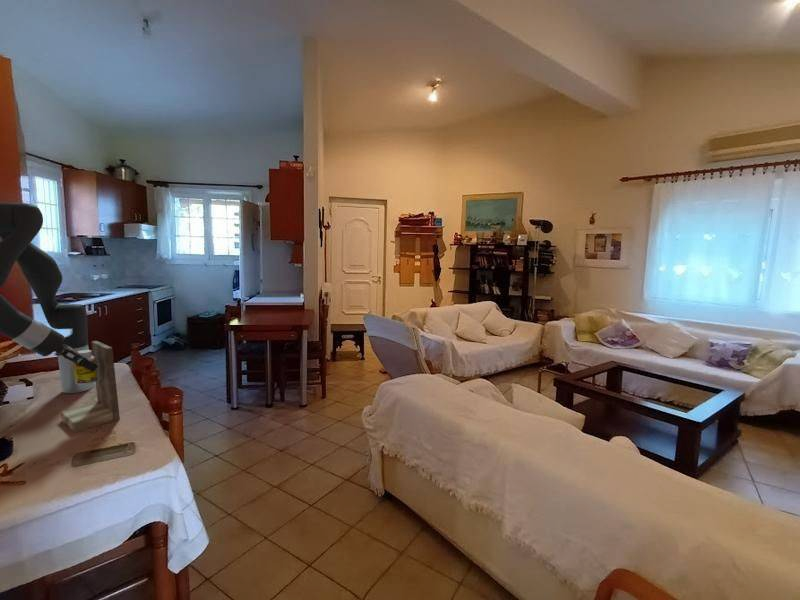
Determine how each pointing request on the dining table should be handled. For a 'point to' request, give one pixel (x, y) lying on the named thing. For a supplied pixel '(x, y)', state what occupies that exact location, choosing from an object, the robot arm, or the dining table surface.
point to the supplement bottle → (85, 370)
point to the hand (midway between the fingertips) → (92, 366)
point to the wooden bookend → (106, 394)
